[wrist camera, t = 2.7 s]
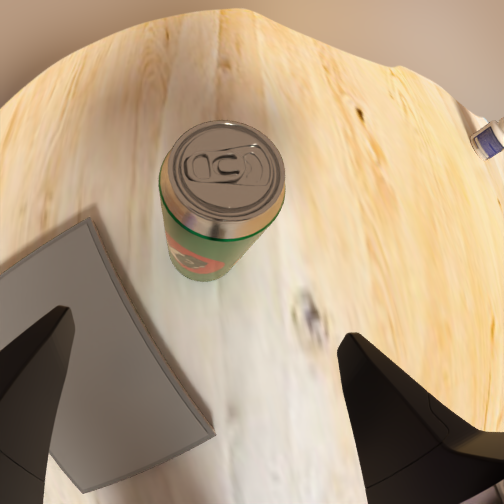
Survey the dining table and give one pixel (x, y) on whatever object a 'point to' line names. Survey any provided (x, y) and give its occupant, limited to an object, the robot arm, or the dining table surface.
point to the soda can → (218, 196)
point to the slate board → (101, 365)
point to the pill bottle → (489, 140)
